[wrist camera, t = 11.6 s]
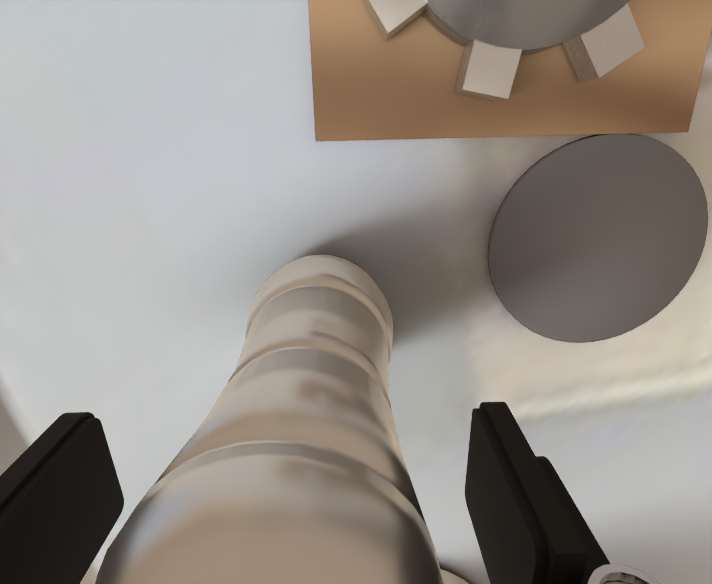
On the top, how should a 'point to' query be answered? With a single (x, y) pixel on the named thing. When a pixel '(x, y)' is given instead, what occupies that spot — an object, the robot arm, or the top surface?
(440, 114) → the base plate
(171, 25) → the top surface
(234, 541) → the plastic bottle
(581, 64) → the sprocket
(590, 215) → the pad
